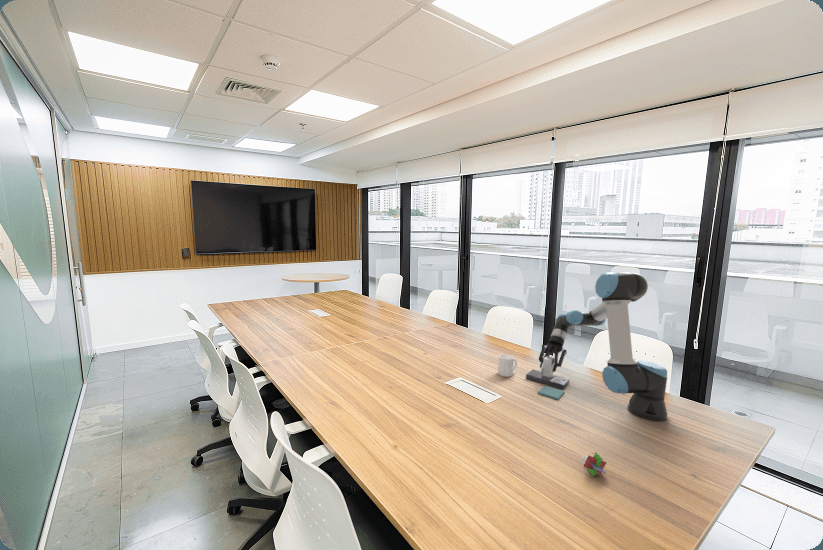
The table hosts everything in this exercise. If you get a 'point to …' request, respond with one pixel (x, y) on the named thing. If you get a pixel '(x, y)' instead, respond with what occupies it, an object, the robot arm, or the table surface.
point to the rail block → (555, 381)
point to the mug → (506, 365)
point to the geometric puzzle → (593, 464)
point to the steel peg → (547, 367)
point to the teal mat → (551, 392)
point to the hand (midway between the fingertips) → (545, 374)
